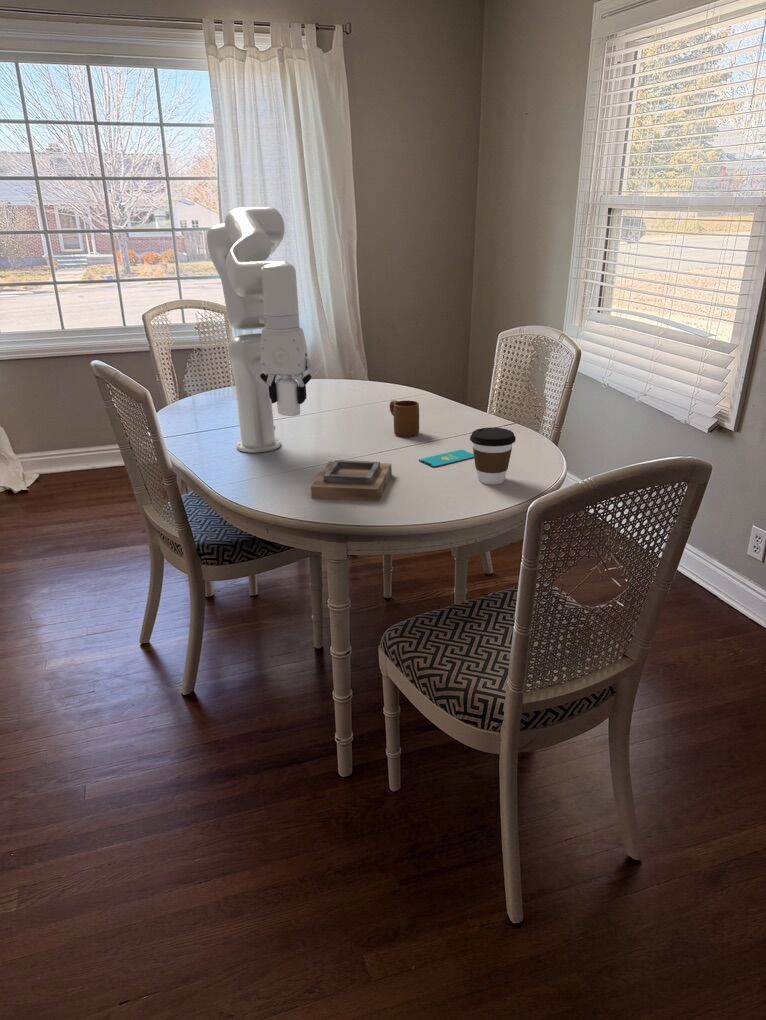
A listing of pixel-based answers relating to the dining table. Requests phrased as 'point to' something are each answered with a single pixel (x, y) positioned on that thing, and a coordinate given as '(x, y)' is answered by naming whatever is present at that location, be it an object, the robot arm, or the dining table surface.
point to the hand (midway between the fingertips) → (288, 401)
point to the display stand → (352, 480)
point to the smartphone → (447, 458)
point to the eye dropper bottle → (287, 396)
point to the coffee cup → (492, 453)
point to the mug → (405, 418)
